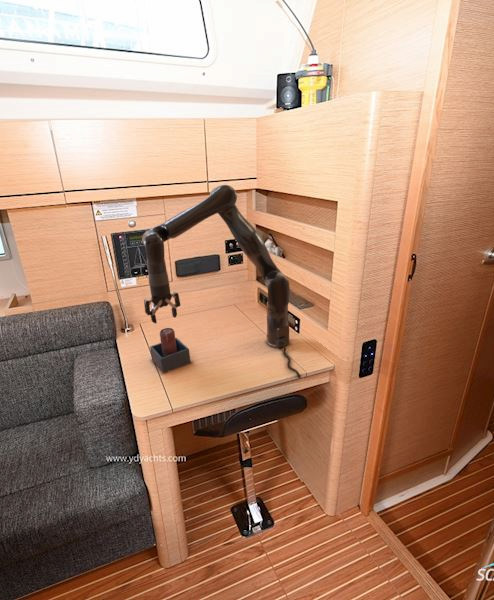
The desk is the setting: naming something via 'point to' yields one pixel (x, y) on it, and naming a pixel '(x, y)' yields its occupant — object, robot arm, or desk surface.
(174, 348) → the can
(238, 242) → the robot arm
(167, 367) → the bin
